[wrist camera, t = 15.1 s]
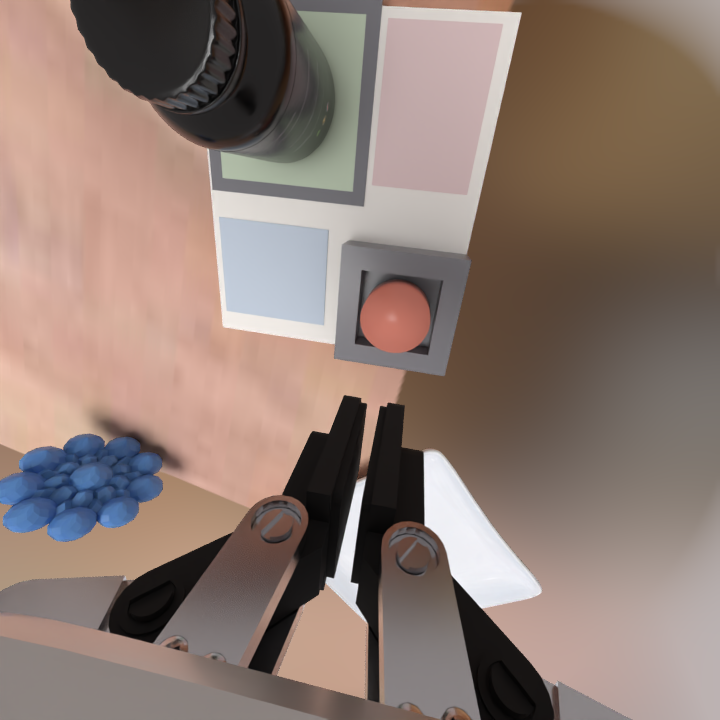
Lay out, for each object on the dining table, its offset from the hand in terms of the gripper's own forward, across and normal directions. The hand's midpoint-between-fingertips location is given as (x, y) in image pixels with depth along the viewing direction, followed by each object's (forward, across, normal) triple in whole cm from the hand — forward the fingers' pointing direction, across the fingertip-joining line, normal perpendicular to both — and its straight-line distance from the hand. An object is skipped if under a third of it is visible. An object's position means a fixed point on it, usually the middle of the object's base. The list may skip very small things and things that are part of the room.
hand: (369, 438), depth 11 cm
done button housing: (+16, 0, 0) cm, 16 cm away
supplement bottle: (+16, +9, -12) cm, 21 cm away
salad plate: (+18, -4, +26) cm, 32 cm away
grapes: (+17, +27, +21) cm, 38 cm away
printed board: (+17, +5, -6) cm, 19 cm away
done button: (+14, 0, 0) cm, 14 cm away
